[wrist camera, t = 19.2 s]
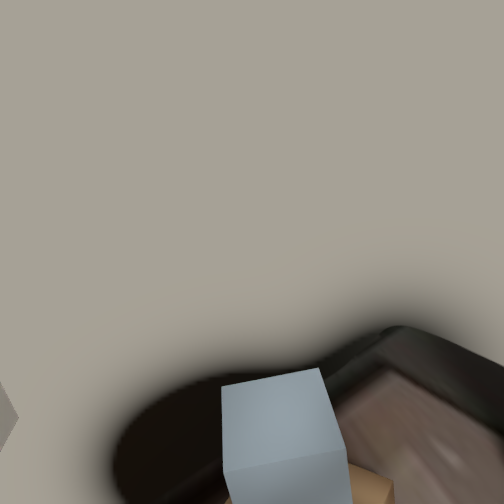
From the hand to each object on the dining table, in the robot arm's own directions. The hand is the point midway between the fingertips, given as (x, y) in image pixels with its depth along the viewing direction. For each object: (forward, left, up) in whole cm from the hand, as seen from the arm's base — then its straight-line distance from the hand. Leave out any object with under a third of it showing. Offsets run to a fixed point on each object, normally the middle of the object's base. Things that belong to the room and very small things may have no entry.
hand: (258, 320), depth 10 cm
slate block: (-11, -10, -28) cm, 32 cm away
